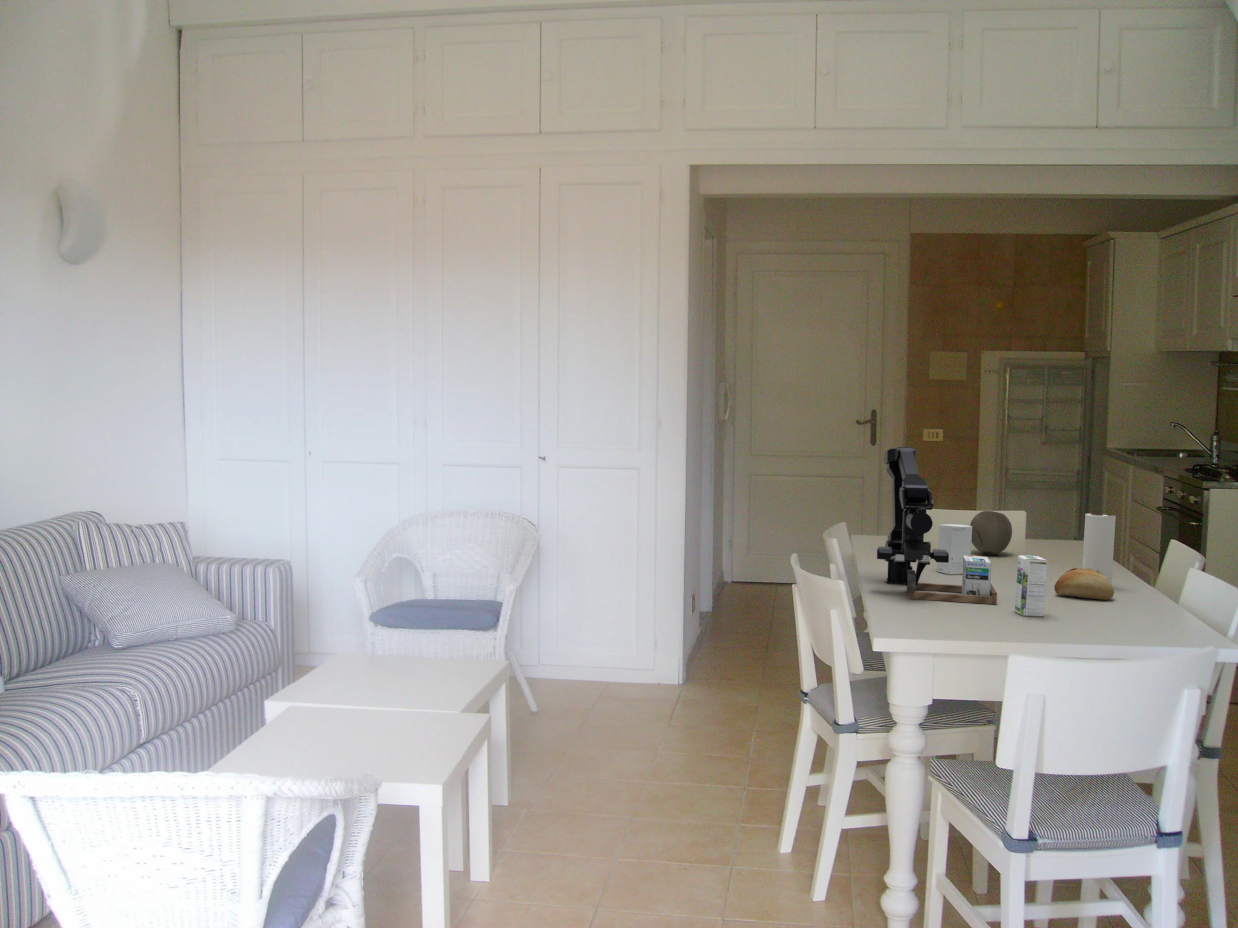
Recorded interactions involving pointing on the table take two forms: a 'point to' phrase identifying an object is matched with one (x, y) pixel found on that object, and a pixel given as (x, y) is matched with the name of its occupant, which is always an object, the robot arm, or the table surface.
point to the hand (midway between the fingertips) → (911, 585)
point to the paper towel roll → (1099, 543)
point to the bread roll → (1084, 584)
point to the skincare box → (954, 546)
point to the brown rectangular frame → (947, 588)
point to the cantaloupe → (991, 532)
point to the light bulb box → (976, 576)
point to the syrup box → (1030, 585)
